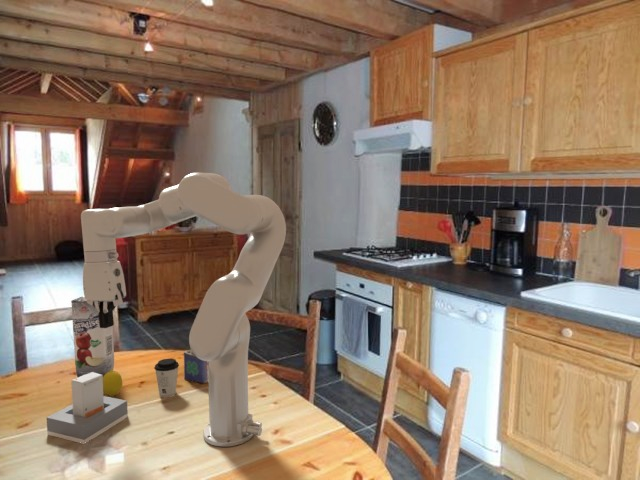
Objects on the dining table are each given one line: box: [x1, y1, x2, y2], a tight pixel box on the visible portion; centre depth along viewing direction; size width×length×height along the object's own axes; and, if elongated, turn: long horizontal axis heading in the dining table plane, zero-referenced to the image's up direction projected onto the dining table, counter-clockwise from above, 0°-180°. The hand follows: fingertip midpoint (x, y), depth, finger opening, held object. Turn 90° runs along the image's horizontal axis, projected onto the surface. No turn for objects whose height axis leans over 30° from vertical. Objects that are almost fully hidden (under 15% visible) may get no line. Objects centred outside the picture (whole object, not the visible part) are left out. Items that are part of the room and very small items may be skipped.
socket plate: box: [45, 395, 129, 444], centre depth 117 cm, size 12×14×4 cm
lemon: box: [103, 369, 123, 398], centre depth 134 cm, size 6×6×8 cm
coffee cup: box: [153, 358, 180, 398], centre depth 135 cm, size 7×7×10 cm
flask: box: [183, 349, 208, 385], centre depth 145 cm, size 9×3×11 cm, turn 61°
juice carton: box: [70, 294, 115, 378], centre depth 149 cm, size 9×10×27 cm
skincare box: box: [71, 372, 104, 418], centre depth 117 cm, size 6×4×12 cm
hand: (106, 326), depth 119 cm, fingers closed
